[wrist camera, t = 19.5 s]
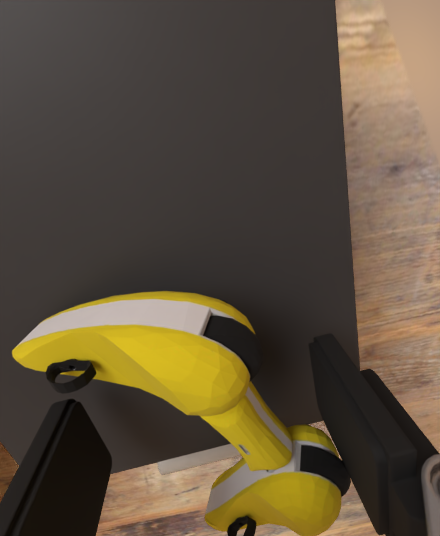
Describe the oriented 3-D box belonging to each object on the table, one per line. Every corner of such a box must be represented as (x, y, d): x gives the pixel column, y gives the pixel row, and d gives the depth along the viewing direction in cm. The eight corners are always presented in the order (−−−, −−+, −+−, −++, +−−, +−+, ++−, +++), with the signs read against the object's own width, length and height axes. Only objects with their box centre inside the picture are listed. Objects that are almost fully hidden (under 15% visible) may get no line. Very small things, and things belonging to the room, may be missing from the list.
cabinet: (293, 301, 21) (363, 411, 12) (99, 351, 21) (39, 492, 13) (248, 23, 15) (327, -130, 6) (-28, 96, 15) (-311, 42, 6)
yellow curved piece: (367, 443, 11) (385, 573, 8) (222, 451, 14) (200, 548, 11) (224, 213, 7) (170, 308, 5) (69, 290, 10) (-20, 376, 8)
